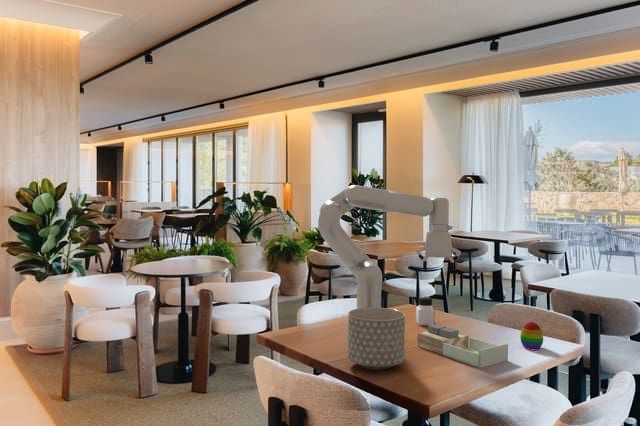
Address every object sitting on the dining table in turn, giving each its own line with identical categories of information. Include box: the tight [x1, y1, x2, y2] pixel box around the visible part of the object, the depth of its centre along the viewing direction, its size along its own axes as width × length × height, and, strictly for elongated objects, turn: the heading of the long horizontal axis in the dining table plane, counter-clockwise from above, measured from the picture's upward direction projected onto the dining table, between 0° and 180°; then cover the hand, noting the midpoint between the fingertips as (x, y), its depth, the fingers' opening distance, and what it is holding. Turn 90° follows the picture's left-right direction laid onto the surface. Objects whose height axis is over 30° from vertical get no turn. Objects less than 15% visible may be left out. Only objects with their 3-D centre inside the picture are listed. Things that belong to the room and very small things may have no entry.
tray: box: [442, 336, 509, 369], centre depth 185 cm, size 15×17×6 cm
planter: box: [347, 307, 406, 371], centre depth 175 cm, size 19×19×18 cm
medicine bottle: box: [415, 296, 436, 326], centre depth 235 cm, size 7×7×12 cm
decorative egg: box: [520, 321, 544, 350], centre depth 198 cm, size 8×8×10 cm
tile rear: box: [427, 323, 448, 335], centre depth 200 cm, size 5×5×2 cm
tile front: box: [439, 327, 460, 339], centre depth 195 cm, size 5×5×2 cm
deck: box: [417, 330, 470, 356], centre depth 198 cm, size 14×13×5 cm
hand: (438, 271), depth 205 cm, fingers open, 9 cm apart
